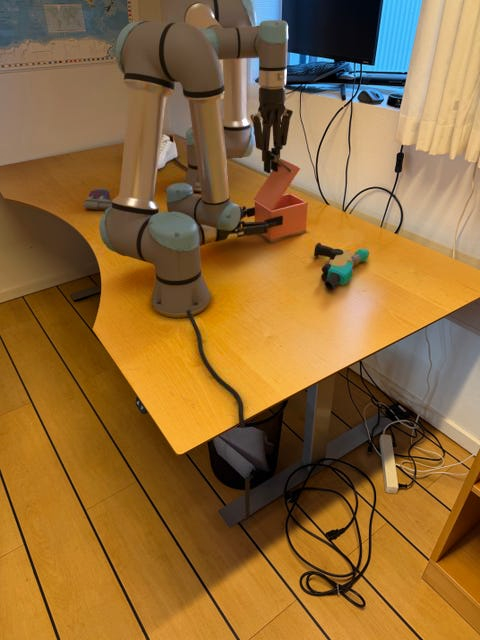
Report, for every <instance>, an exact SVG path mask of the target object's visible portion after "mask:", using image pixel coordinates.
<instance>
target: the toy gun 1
mask: <svg viewBox="0 0 480 640" xmlns="http://www.w3.org/2000/svg"><path fill="white" fill-rule="evenodd" d="M110 194H111V193H110V189H109V188H94V189H93V190H91V191H90V192H89V193H88V198H86V199H84V201H85V202H84V204H83V206H82V207H84V208H85V209H88V210H96V211H97V210H98V211H106V210H107V209H108V208H110V207H112V199H110V196H111V195H110Z"/></svg>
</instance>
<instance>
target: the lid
mask: <svg viewBox="0 0 480 640" xmlns="http://www.w3.org/2000/svg"><path fill="white" fill-rule="evenodd" d="M271 160H272V161H274V162H278V172H275V171H273V170H271V173H269V174H268V176H267V178H266V180H265V181H264V182H263V184H262V185H261V187H260V189H259V190H258V192H257V193H256V195H255V197H254V198H253V200H255V202H256V201H257V202H259V203H260V204H262V205H264V206H265V207H267V208H268V209H270V210H272V211H273V209H274V208H275V206H276V205H277V203H278V202H279V200H280V199H281V197H282V196H283V195H284V194H286V191H287V189H288V188H289V186H290V185H291V184H292V182H293V181H294V179H295V178H296V177H297V175H298V173H299V172H300V170H301V168H300V167H299V166H297V165H295V164H292V163H291V162H289V161H287V160H286V159H283V158H281V157H280V158H279V156H277V155H275V154H273V153H271Z"/></svg>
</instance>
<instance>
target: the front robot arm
mask: <svg viewBox="0 0 480 640" xmlns="http://www.w3.org/2000/svg"><path fill="white" fill-rule="evenodd" d="M115 43H116V44H115V60H116V62H117V63H118V64H117V67H118V68H119V71H120V72H121V73H122V74H123V83H124V85H125V86H126V87H127V90H128V92H129V93H128V104H127V113H126V124H125V132H124V133H125V134H124V142H123V153H122V163H121V164H122V165H121V173H120V181H119V182H120V183H119V194H118V195H117V196H115V198H113V199H111V201H112V207H110V208H108V209H107V210H104V212H103V213H104V214H102V216H101V218H100V220H99V236H100V238H101V241H102V242H103V244H104V245H105V246H106V248H107V249H108V250H109V251H111V252H113V253H116V254H118V255H120V256H122V257H128V258H132V259H135V260H138V261H141V262H145V263H149V264H150V265H152V266H153V268H154V274H155V275H154V276H155V281H154V284H153V290H152V294H151V305H152V308H153V310H154V311H155V312H156V313H157V314H159V315H160V316H163V317H167V318H171V319H183V318H185V319H186V318H188V319H189V321H190V323H191V326H193V330H194V332H195V335H196V338H197V346H198V352H199V355H200V358H201V360H202V362H203V364H204V366H205V367H206V369H207V370H208V372H209V373H210V374H211V376H212V377H213V378H214V379H215V380H216V382H218V383H219V384H220V385H221V386H222V387H223V388H225V389H226V390H227V391H228V392H229V393H230V394H231V395H232V396H233V397H234V398H235V400H236V403H237V407H238V411H237V412H238V421H239V427H240V428H241V429H244V428H245V427H246V424H245V417H244V416H245V415H244V403H243V400H242V398H241V396H240V395H239V393H238V392H237V390H235V389H234V387H232V386H231V385H229V384H228V382H226V381H225V380H223V378H222V377H220V375H219V374H218V373H217V372H216V371H215V370H214V368H213V366H212V364H210V362H209V360H208V359H207V356H206V354H205V352H204V348H203V339H202V334H201V332H200V329H199V327H198V325H197V323H196V320H195V318H194V316H196V315H199V314H201V313H202V312H204V311H205V310H207V308H208V307H209V306H210V303H211V294H210V290H209V288H208V286H207V284H206V281H205V278H204V277H203V275H202V262H201V261H202V259H201V247H202V246H206V245H209V244H213V243H215V242H220V241H224V240H226V239H228V237H229V235H234V234H236V235H237V238H239V239H240V238H243V237H246V236H256V235H259V234H265V233H268V228H272V227H275V226H279V225H283V216H279V217H275V218H271V219H267V220H264V222H255V221H245V220H243V219H244V218H246V217H247V218H251V217H255V206H253V207H249V208H247V206H246V205H243V206H242V207H241V206H239V204H237V203H234V202H233V201H231V196H230V195H231V194H230V187H229V186H230V185H229V176H228V175H229V172H228V164H227V163H228V162H227V159H226V149H225V138H224V127H223V119H224V114H223V106H222V96H224V92H225V87H224V77H223V67H222V65H221V62H220V60H219V59H218V56H217V54H216V52H215V50H214V48H213V46H212V44H211V43H210V41H209V40H208V39H207V37H206V36H205V35H204V34H203V33H202V32H201V31H200V30H199V29H198V28H196V27H195V26H193V25H191V24H188V23H185V22H183V21H182V22H181V21H179V22H169V21H153V20H141V21H132V22H130V23H128V24H127V25H126V26H124V27H123V28H122V29H121V31H120V33H119V34H118V36H117V40H116V42H115ZM176 83H180V85H181V88H182V94H183V95H182V96H183V97H184V98H185V99H186V100H187V101H188V107H189V115H190V121H191V127H192V129H193V137H194V144H195V151H196V159H197V166H198V173H199V181H200V188H201V193H200V195H197V194H194V192H193V190H192V187H191V186H190V185H189V184H186V183H185V182H176V183H172V184H171V185H168V186H167V188H166V190H165V196H166V201H165V203H166V211H160V207H159V206H158V205H157V203H156V202H155V195H156V185H157V177H158V170H159V169H158V162H159V153H160V145H161V137H162V134H163V129H164V120H165V112H166V103H167V99H168V98H169V97H170V96H172V94H174V90H175V84H176ZM159 211H160V212H159ZM250 477H251V476H244V488H245V489H244V509H245V510H244V511H245V513H244V514H245V518H247V519H248V518H250V516H251V513H250V512H251V511H250V509H251V508H250V504H251V502H250V501H251V499H250V497H251V496H250V495H251V489H250V488H251V478H250Z"/></svg>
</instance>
